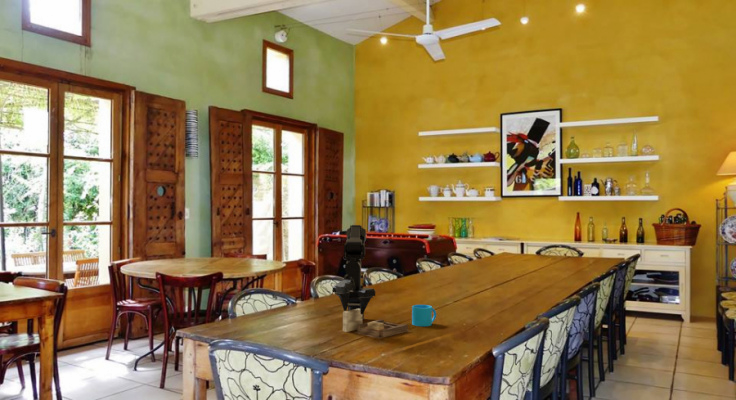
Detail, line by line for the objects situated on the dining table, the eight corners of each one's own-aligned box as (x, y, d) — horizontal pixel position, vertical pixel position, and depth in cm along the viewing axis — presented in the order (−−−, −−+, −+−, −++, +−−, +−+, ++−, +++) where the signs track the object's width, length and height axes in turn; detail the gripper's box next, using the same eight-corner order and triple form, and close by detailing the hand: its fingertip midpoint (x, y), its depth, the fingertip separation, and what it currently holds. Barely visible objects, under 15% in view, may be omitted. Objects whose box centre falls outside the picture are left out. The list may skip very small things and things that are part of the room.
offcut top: (367, 328, 206) (367, 323, 206) (373, 326, 209) (373, 321, 209) (378, 330, 203) (378, 324, 203) (383, 328, 206) (383, 323, 206)
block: (358, 328, 216) (358, 308, 216) (362, 329, 215) (362, 309, 215) (342, 332, 210) (342, 311, 210) (346, 333, 208) (346, 312, 208)
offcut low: (364, 332, 207) (364, 327, 207) (371, 331, 210) (371, 325, 210) (378, 335, 202) (378, 330, 202) (385, 334, 205) (385, 328, 205)
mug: (421, 329, 217) (421, 309, 217) (408, 325, 223) (408, 306, 223) (442, 325, 224) (442, 305, 224) (429, 322, 231) (429, 302, 231)
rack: (353, 334, 207) (353, 325, 207) (384, 326, 220) (384, 318, 221) (380, 340, 198) (380, 331, 198) (410, 332, 211) (410, 323, 211)
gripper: (322, 272, 213) (322, 311, 213) (356, 277, 200) (356, 319, 200) (342, 270, 221) (342, 308, 221) (376, 274, 208) (376, 314, 208)
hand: (353, 312), depth 212 cm, fingers open, 9 cm apart
